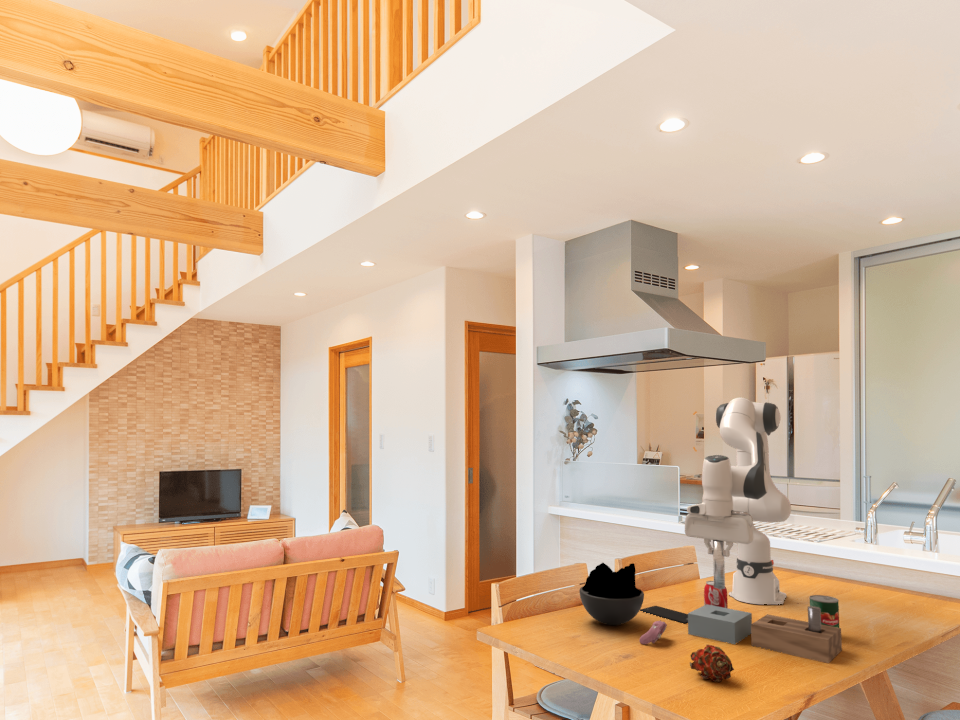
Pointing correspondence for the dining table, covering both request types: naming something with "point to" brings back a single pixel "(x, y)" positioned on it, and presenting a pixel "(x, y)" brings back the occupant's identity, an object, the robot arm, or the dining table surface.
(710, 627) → the socket block
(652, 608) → the cell phone
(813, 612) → the dark grey rounded rod
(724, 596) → the soda can
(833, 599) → the canned tomato
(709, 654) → the dragon fruit
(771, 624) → the rack
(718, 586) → the long rounded cylinder
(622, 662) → the dining table surface
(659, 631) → the pink curved piece
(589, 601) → the coal bowl
